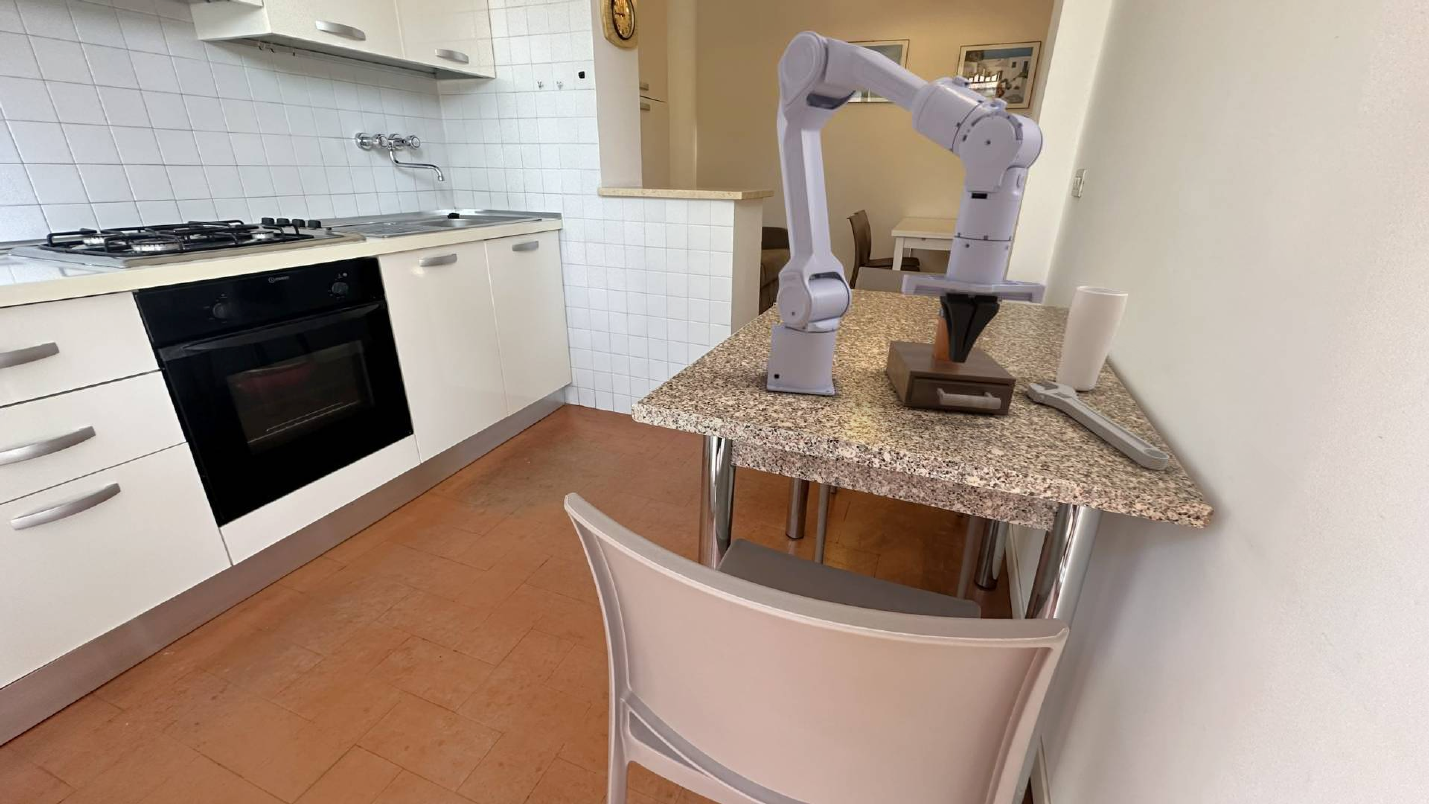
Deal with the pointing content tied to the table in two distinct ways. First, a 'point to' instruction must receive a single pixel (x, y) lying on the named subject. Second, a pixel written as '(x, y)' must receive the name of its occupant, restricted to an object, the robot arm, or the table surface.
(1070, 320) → the drinking glass
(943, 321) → the spice jar
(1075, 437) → the table surface
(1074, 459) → the table surface
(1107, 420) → the adjustable wrench
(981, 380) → the cabinet
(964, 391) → the drawer
